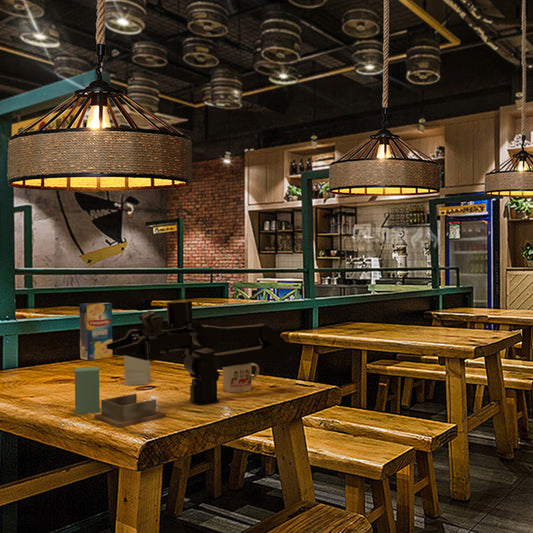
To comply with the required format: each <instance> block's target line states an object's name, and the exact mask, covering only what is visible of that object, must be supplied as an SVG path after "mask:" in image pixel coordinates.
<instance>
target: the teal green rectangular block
mask: <svg viewBox="0 0 533 533" xmlns="http://www.w3.org/2000/svg"><path fill="white" fill-rule="evenodd" d="M100 399H101V398H100V366H89V367H75V368H74V407H75V409H74V410H75V412H74V413H75V414H74V415H87V414H100V413H99V412H101V405H100V404H101V402H100V401H101V400H100Z"/></svg>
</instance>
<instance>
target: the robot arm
mask: <svg viewBox="0 0 533 533" xmlns="http://www.w3.org/2000/svg"><path fill="white" fill-rule="evenodd" d="M165 303H166V314H167V323H168V324H169V325H171V328H173V329H163V328H162V325H163V323H164V321H165V320H164V318H163V315H157V313H156V312H154V310H147V311H145V312H144V313H141V314H139V315H138V319H139V321H140V322H141V323H142V325H143V328H144V330H142V331H141V330H140V329H136V328H134V329H129V330H128V331H127V332H126V334H125V336H124V337H123V338H120V339H117V340H115V341H112V343H109V344H107V345H106V346H107V349H111V350H113V351H114V352H115V354H117V355H120V356H121V355H122V356H124V355H125V356H129V357H134V358H138V359H142V360H146V361H147V360H148V361H150V362H154V361H155V362H156V361H158V360H159V359H160V358H161V355H162V354H161V353H163V354H170V353H171V352H176V351H181V350H183V351H184V355H186V356H185V357H184V360H183V366H184V369H185V370H186V371H187V372H188V373H189V376H190V377H191V378H192V379H191V384H190V385H189V395H190V397H189V401H190V402H191V403H194V404H196V405H197V406H200V405H207V404H213V403H214V404H215V403H220V402H221V400H220V399H218V381H219V379H220V375H221V373H220V371H219V369H223V367H228V366H234V365H240V364H245V363H256V362H261V361H272V362H273V361H274V362H289V361H291V360H292V358H293V356H294V354H295V347H294V345H293V343H291V341H286V340H285V338H284V337H282V336H281V335H279V334H278V333H277V332H276V331H274V330H273V329H272V328H271V326H270V325H268V324H264V323H258V324H250V325H249V324H248V325H235V326H233V325H232V326H225V327H224V326H213V325H207V324H205V325H204V324H200V323H198V321H194V319H193V301H192V300H186V301H184V300H183V301H181V300H180V301H178V300H172V301H171V300H170V301H167V302H165ZM181 327H182V328H181ZM253 339H254V340H256V339H258V340H259V341H260V343H261V345H259V346H253V347H247V348H240V349H235V350H229V351H223V352H217V353H216V350H214V349H211V347H215V346H218V345H221V344H223V343H225V342H226V343H227V342H233V341H243V340H253ZM193 344H194V345H196V346H200V347H203V348H201V349H198V350H197V348H196V347H194V345H193Z"/></svg>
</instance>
